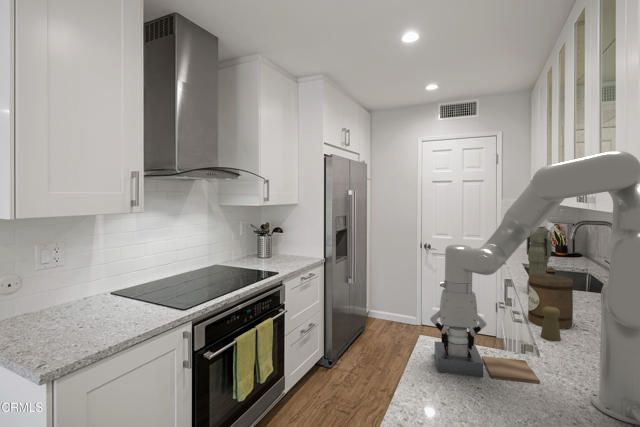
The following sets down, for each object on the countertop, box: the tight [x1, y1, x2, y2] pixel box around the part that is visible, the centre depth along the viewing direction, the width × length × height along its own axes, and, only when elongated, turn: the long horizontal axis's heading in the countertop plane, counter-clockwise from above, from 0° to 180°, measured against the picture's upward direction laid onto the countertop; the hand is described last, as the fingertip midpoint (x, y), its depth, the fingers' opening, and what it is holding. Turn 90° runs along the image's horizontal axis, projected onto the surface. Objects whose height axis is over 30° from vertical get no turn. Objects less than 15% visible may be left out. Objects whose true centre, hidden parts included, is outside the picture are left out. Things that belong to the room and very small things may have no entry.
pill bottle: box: [446, 326, 469, 358], centre depth 103 cm, size 6×6×11 cm
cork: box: [540, 307, 562, 342], centre depth 122 cm, size 6×6×11 cm
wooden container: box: [527, 267, 574, 330], centre depth 138 cm, size 15×15×22 cm
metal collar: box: [434, 341, 484, 378], centre depth 103 cm, size 12×12×4 cm
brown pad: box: [481, 355, 541, 384], centre depth 100 cm, size 12×12×1 cm
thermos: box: [526, 226, 552, 296], centre depth 176 cm, size 9×12×35 cm
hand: (457, 346), depth 103 cm, fingers closed on pill bottle, 6 cm apart
